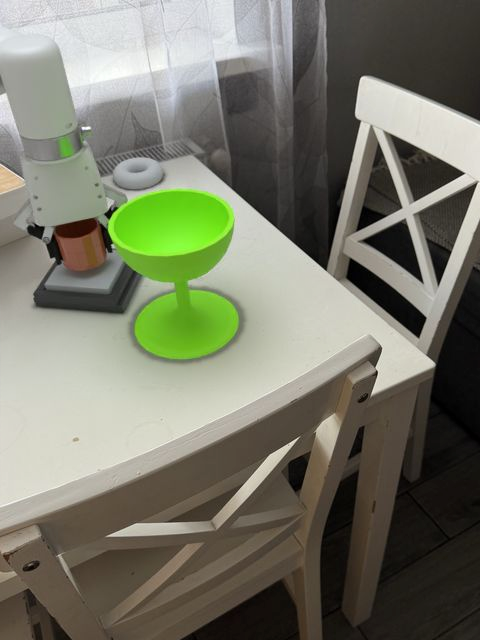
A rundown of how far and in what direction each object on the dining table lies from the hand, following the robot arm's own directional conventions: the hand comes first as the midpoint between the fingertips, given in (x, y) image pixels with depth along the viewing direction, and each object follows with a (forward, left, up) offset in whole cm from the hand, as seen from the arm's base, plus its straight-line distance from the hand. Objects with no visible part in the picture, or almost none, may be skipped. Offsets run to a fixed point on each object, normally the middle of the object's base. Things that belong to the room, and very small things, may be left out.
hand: (83, 253), depth 90 cm
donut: (-3, +35, -7) cm, 36 cm away
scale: (0, 0, -7) cm, 7 cm away
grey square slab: (0, 0, -4) cm, 4 cm away
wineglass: (+17, -7, -7) cm, 20 cm away
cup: (0, 0, -1) cm, 1 cm away
